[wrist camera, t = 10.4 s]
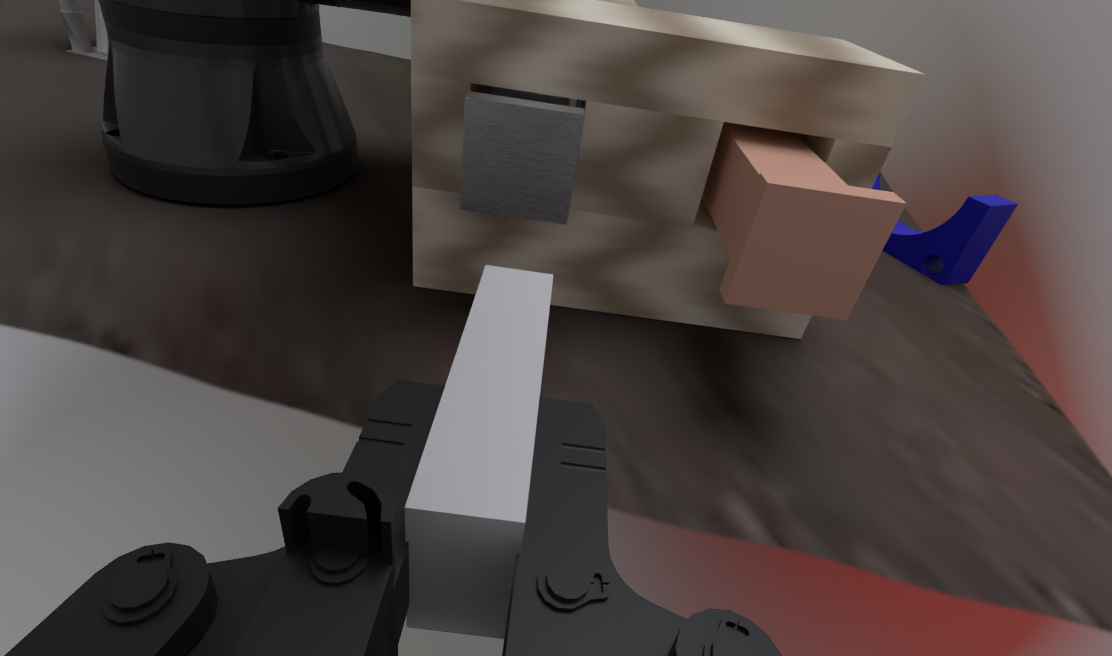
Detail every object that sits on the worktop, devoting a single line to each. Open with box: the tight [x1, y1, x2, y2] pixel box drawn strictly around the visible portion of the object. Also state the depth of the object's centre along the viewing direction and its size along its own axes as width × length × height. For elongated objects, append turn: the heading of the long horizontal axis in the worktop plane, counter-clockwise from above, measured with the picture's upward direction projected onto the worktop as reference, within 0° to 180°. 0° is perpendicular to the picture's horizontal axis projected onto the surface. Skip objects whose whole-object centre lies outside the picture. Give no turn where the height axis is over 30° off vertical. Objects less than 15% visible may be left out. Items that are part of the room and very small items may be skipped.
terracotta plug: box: [702, 122, 906, 320], centre depth 26 cm, size 5×12×5 cm, turn 178°
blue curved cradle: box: [872, 172, 1018, 285], centre depth 42 cm, size 12×4×6 cm, turn 24°
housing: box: [411, 0, 925, 339], centre depth 31 cm, size 21×9×14 cm, turn 88°
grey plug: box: [460, 87, 584, 224], centre depth 29 cm, size 5×12×5 cm, turn 178°
